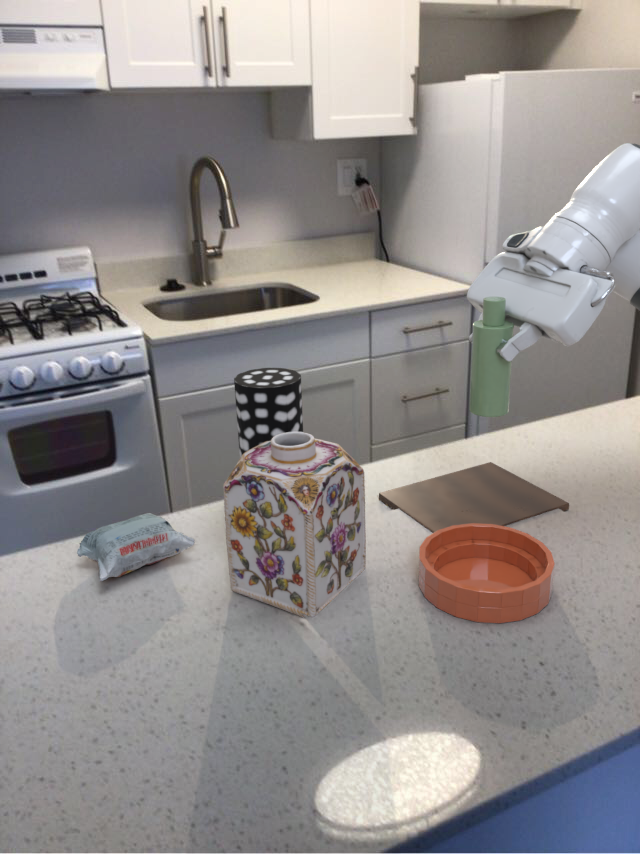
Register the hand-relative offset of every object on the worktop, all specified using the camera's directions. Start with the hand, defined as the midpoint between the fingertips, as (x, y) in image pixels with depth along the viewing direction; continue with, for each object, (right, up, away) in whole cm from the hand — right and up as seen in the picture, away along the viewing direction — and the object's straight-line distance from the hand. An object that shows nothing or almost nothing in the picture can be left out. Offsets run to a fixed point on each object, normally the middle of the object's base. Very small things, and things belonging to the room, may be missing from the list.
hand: (487, 350), depth 91 cm
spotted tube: (-26, -22, +10) cm, 36 cm away
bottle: (+1, -7, +3) cm, 8 cm away
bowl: (-2, -27, -6) cm, 28 cm away
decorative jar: (-22, -27, -4) cm, 35 cm away
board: (+1, -20, +13) cm, 24 cm away
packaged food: (-42, -26, +1) cm, 50 cm away
